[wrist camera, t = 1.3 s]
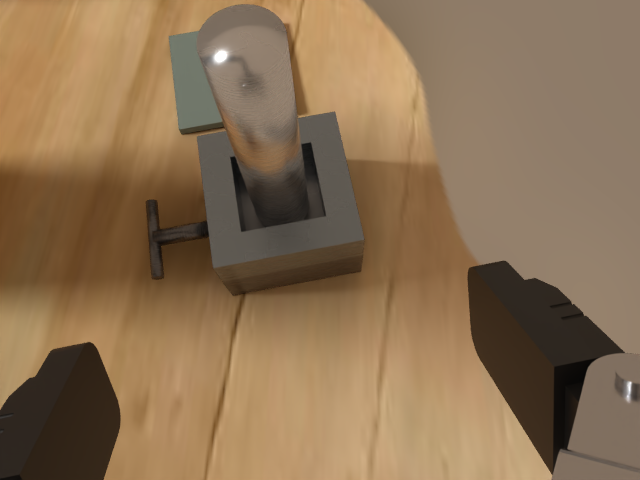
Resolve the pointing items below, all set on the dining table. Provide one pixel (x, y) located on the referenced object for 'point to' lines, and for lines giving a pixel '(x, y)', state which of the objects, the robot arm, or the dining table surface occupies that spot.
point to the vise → (276, 241)
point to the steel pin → (257, 107)
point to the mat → (192, 86)
